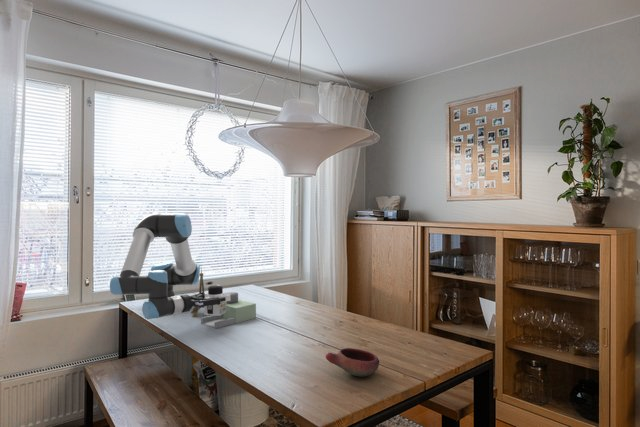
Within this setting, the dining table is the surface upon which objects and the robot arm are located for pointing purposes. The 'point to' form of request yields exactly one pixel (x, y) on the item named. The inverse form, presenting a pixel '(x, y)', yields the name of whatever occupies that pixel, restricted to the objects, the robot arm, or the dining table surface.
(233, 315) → the sage green base block
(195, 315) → the eiffel tower
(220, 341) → the dining table surface
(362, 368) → the bowl
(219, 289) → the container
